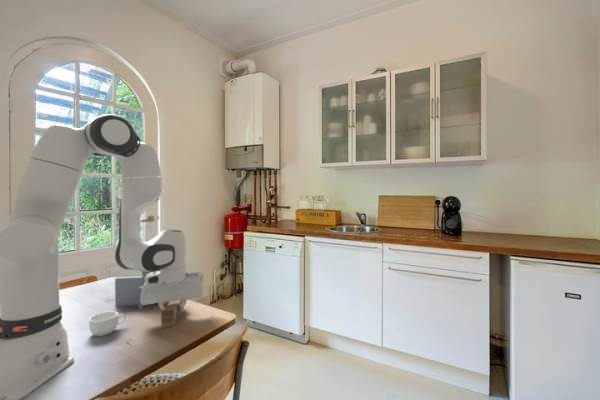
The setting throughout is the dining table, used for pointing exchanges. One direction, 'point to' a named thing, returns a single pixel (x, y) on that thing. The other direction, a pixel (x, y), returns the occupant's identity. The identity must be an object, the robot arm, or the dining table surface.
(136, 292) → the stepped grey building model
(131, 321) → the dining table surface
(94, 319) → the teacup
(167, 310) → the wooden block
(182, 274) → the robot arm
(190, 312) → the dining table surface
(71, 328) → the dining table surface
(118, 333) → the dining table surface
